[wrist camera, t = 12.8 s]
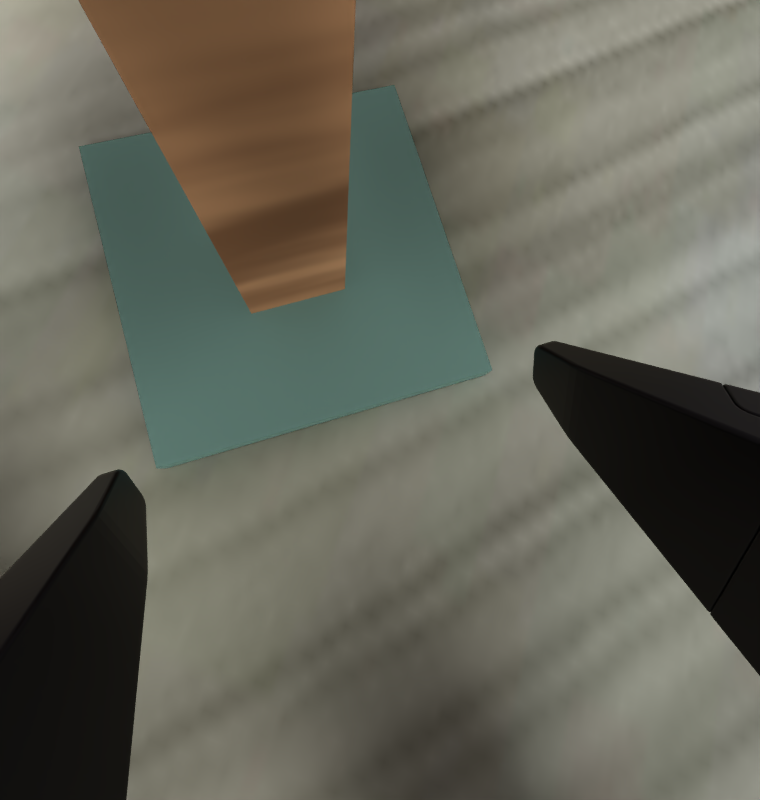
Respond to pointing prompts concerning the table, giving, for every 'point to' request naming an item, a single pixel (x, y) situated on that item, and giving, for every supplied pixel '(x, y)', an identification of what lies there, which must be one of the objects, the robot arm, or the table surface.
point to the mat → (288, 324)
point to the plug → (249, 127)
